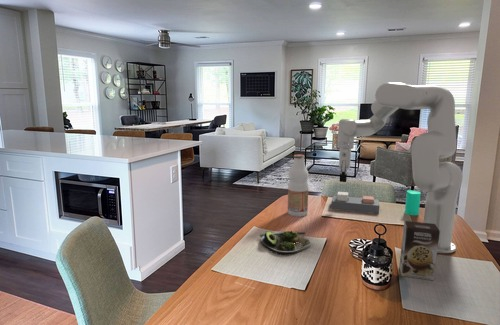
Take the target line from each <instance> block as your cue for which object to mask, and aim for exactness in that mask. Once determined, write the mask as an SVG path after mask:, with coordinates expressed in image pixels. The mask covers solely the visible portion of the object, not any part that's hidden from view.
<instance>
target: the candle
mask: <svg viewBox="0 0 500 325" xmlns="http://www.w3.org/2000/svg"><path fill="white" fill-rule="evenodd" d="M421 192H422V191H421ZM421 192H420V191H418V190H411V189H408V190H406V196H405V206H404V214H406V213H407V214H406V215H409V216H419V213H420V207H421V206H420V205H421V194H422V193H421Z"/></svg>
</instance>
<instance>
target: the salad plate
mask: <svg viewBox="0 0 500 325" xmlns="http://www.w3.org/2000/svg"><path fill="white" fill-rule="evenodd" d="M304 235H306V232H305V231H301V232H300V231H299V232H297V231H296V230H295V232H294V231H292V230H291V231H287V230H282V231H281V230H280V231H277V232H274V233H273V232H271V231H266V232H265V233H263V234H262V233H261V234H259V235H258V236H259V237H260V244H261V245H262V246H263V247H264V248H265V249H267V250H268V251H270V252H271V251H272V252H271V253H273V254H276V253H277V255H280V254H281V256H290V255H293V254H297V253H300V252H301V251H303V250H305V249H307V248H309V247H310V246H311V244H312V242H311V241H310V240H309V239H308V238H305V237H303V236H304ZM296 242H299V243H298V244H300V243H301V247H300V248H299V249H297V243H296ZM294 243H295V244H294ZM289 254H290V255H289Z"/></svg>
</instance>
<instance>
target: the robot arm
mask: <svg viewBox="0 0 500 325" xmlns="http://www.w3.org/2000/svg"><path fill="white" fill-rule="evenodd" d="M374 97H375V101H373V103H371V106H370V108H371V109H370V110H371V112H372V114H373V115H372V116H370V118H368V119H356V120H355V119H351V118H342V119H340V120H339V121H338V129H337V130H338V131H337V145H336V146H337V149H339V152H338V153H339V155H338V168H339V169H340V173H339V182H341V183H347V175H348V174H347V170H350V168H351V158H352V149H353V150H354V142H355V138H357V137H358V138H359V137H369V136H372V135H374V134H376V133H377V132H379V131H380V130H381V129H382V128H384V126H386V123H387V121H388V118H389V117H390V116H392V114H394V113H395V112H396V111H397V110H399V109H403V110H412V111H413V110H429V112H428V113H429V114H428V115H427V116H428V117H427V120H426V121H427V122H426V125H427V132H423V133H420V134H418V135H417V136H416V137H415V138H414V139H413V141H412V144H411V151H410V153H411V168H412V180H413V183H414V185H415V186H416V188H418V190H420V191H421V192H425V193H426V197H425V204H424V215H423V221H422V223H431V224H435V225H436V226H437V227H438V229H439V230H440V234H439V242H438V250H437V254H452V253H454V252H455V251H456V250H457V249H456V248H457V247H456V245H455V243H453V242H452V241H453V240H452V239H453V232H454V222H455V216H456V208H457V201H458V196H459V192H460V189H461V186H462V182H463V172H462V170H461V168H460V167H459V165H457V164H456V163H454V162H451V161H440V159H446V158H447V159H448V158H450V157H451V156H454V154H455V152H456V150H457V130H456V119H455V118H456V117H455V116H456V111H455V110H456V102H455V98H454V95H453V93H452V92H451V91H450V90H449V89H447V88H445V87H442V86H439V85H431V84H429V85H427V84H426V85H425V84H423V85H422V84H421V85H419V84H418V85H417V84H414V85H413V84H412V85H411V84H408V83H404V82H384V83H382V84H380V85H379V86H378V88H377V89H376V90H375V94H374Z"/></svg>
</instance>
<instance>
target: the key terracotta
mask: <svg viewBox="0 0 500 325" xmlns="http://www.w3.org/2000/svg"><path fill="white" fill-rule="evenodd" d="M362 198H363V202H362V203H371V204H374V199H375V198H374V196H370V195H369V196H367V195H362Z"/></svg>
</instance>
